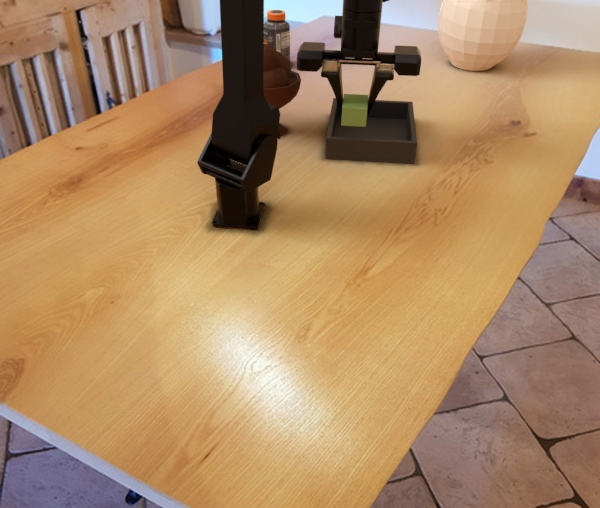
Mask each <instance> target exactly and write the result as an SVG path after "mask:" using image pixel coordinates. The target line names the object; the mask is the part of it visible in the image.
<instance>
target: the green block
mask: <svg viewBox="0 0 600 508" xmlns="http://www.w3.org/2000/svg"><path fill="white" fill-rule="evenodd" d="M368 98H369V94H358V93H357V94H355V93H343V106H342V120H341V126H359V127H366V120H367V109H368Z"/></svg>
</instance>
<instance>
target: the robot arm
mask: <svg viewBox="0 0 600 508" xmlns="http://www.w3.org/2000/svg"><path fill="white" fill-rule="evenodd" d="M389 1H390V0H342V15H334V25H333V38H334V39H340V50H339V49H338V50H336V49H335V50H334V49H326V42H316V41H315V42H314V41H303V42H302V43H301V44H300V46H299V47H298V50H297V54H296V70H297V71H299V72H313V73H314V72H316V73H317V72H318V71H319V70H320V69H321V72H320V77H321V78H324V79H325V78H326V79H327V81H328V83H329V86H330V87H331V90H332V92H333V94H334V98H336V101H337V104H338V107H339V111H340V113H342V106H343V98H344V88H343V67H342V66H343V65H351V66H352V65H354V66H355V65H357V66H374V67H373V74H372V80H371V84H370V88H369V93H368V109H367V115H369V113H370V111H371V109H372V107H373V104H374V102H375V100H377V98H378V96H379V94H380V92H381V91H382V89H383V88H384V86H385V84H386V83H387V82H388V81H393V80H395V79H394V78H395V73H396V74H397V75H398V76H407V77H418V76H420V73H421V67H422V54H421V50H420V49H419V47H418V46H416V45H394V49H393V52H386V51H385V52H384V51H379V46H380V35H381V22H382V13H383V3H386V2H389ZM219 18H220V19H219V20H220V42H221V63H222V65H221V67H222V87H223V88H222V89H223V91H222V95H221V97H220V99H219V101H218V103H217V105H216V107H215V108H214V111H213V113H212V121H211V133H210V135H209V136H208V139H207V141H206V143H205V145H204V147H203V149H202V151H201V153H200V155H199V157H198V159H197V166H198V168H199V171H200V172H201V173H202V174H203V175H208V176H210V177H212V178H214V182H215V183H214V184H215V192H216V200H217V209H216V211H215V213H214V216H213V218H212V220H211V226H212V227H214V228H232V229H243V230H244V229H245V230H258V229H259V228H260V225H261V221H262V219H263V215H264V211H265V209H266V203H265V202H263V201H260V198H259V194H260V193H259V187H261V186H263V185H264V184H265V183H268V182H270V181H271V179H272V175H273V170H274V165H275V160H276V155H277V151H278V140H280V139H282V138H281V136H280V133H279V123H280V120H281V112H280V109H279V108H278V107H276V106H273V105H270V104H268V103H267V100H266V98H265V96H264V23H265V0H219Z"/></svg>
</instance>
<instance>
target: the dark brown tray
mask: <svg viewBox="0 0 600 508" xmlns="http://www.w3.org/2000/svg"><path fill="white" fill-rule="evenodd" d="M413 103H414V102H413V101H407V100H384V99H383V100H382V99H381V100H380V99H376V100H375V102H374V104H373V107H372V109H371V111H370V113H369V115H367V120H366V127H359V126H341V120H342V113H340V111H339V107H338V104H337V101H336V98H335V97H333V98H332V104H331V108H330V115H329V120H328V125H327V126H328V127H327V132H326V136H325V137H326V138H325V155H324V156H325V158H324V159H326V160H339V161H340V160H341V161H358V162H359V161H361V162H375V163H376V162H378V163H393V164H395V163H396V164H412V165H413V164H415V160H416V154H417V149H418V139H417V130H416V121H415V113H414V112H415V111H414V104H413Z"/></svg>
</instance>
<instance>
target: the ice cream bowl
mask: <svg viewBox="0 0 600 508" xmlns="http://www.w3.org/2000/svg"><path fill="white" fill-rule="evenodd" d="M291 68H292V65H291V59H290V60H289V59H288V58H287V57H286V56H284V55H283V54H282V53H281V52H278V51H276V50H275V49H274V48H273V47H272V46H271V45H269V44H264V96H265V98H266V100H267V103H268V104H270V105H273V106H276V107H278V108H279V110H280V109H281V108H283V107H285V106H287V105H288V104H290V103H291V102H292V101H293V100H294V99H295V98H296V97H297V94H298V93H299V91H300V89H301V84H302V78H301V76H300V73H299V72H296V71H295V70H292V69H291ZM279 133H280V137H281V136H282V135H284V134H285V133H286V128H285V125H283V124H282V123H280V122H279Z"/></svg>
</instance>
